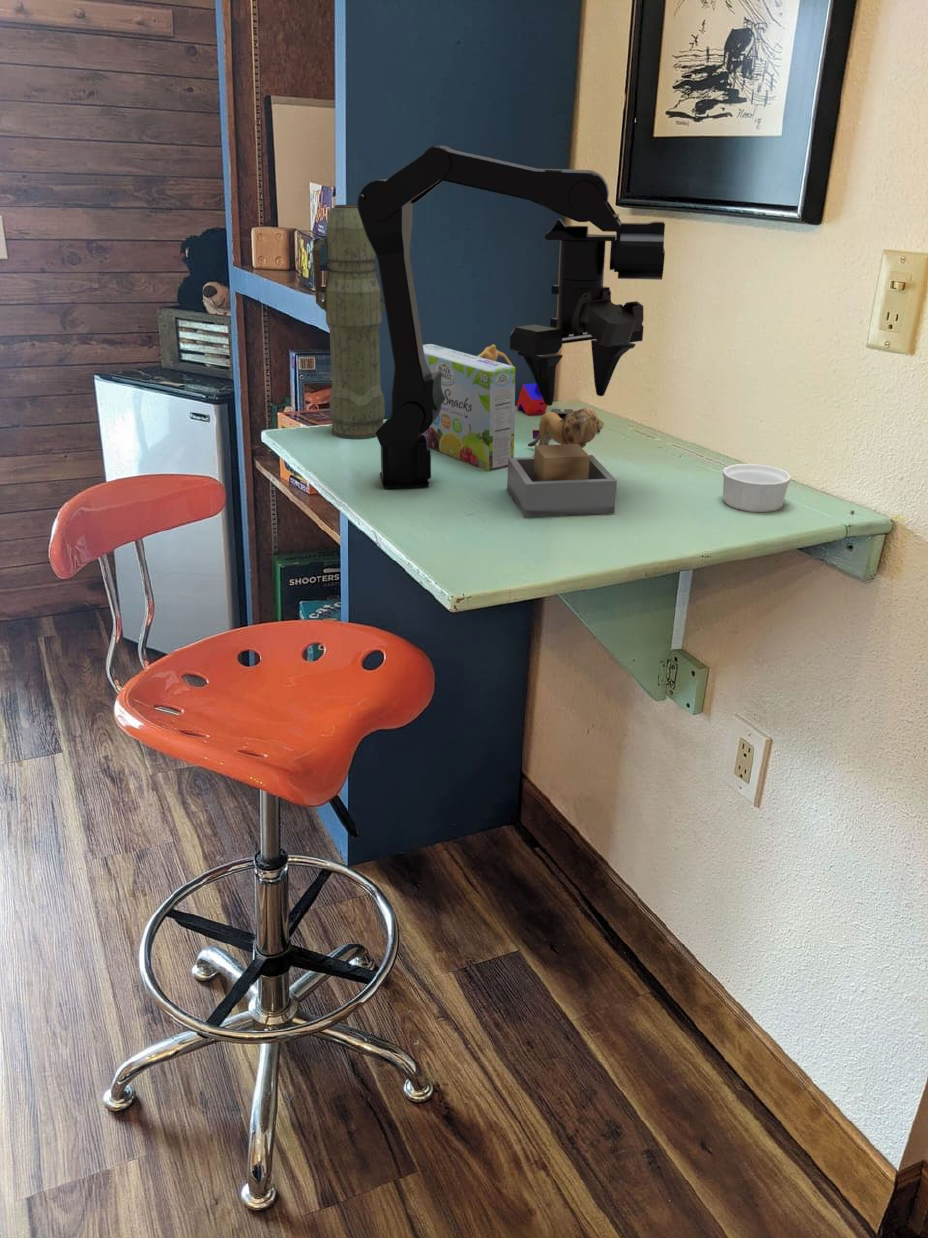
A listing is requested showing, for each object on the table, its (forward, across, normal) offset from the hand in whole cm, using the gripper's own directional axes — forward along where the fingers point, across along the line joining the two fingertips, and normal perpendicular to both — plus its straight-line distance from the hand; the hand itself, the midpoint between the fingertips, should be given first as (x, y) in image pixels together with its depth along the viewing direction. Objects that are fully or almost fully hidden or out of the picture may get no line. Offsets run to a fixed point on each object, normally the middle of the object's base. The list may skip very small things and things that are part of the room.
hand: (574, 400), depth 135 cm
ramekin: (+13, +17, -18) cm, 28 cm away
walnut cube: (+12, -4, -2) cm, 13 cm away
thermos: (+13, -8, +44) cm, 46 cm away
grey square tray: (+13, -4, -2) cm, 13 cm away
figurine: (+13, +18, +41) cm, 47 cm away
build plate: (+14, +19, +24) cm, 33 cm away
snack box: (+13, -1, +25) cm, 28 cm away
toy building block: (+13, +25, +38) cm, 47 cm away
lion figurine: (+13, +9, +12) cm, 20 cm away
